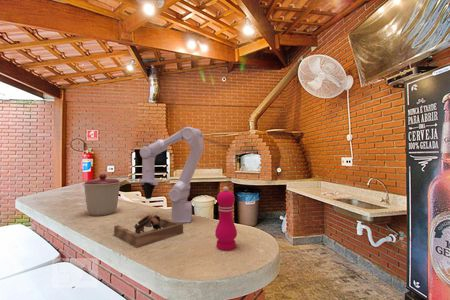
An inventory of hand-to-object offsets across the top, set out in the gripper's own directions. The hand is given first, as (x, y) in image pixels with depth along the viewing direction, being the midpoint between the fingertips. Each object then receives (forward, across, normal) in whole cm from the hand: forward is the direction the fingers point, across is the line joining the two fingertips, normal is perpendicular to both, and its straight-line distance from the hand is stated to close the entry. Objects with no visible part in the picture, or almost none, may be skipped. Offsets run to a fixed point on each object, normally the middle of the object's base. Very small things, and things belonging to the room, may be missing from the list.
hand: (148, 198), depth 113 cm
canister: (+10, -27, -11) cm, 31 cm away
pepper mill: (+10, +52, -1) cm, 53 cm away
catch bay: (+9, +22, -12) cm, 26 cm away
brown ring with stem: (+10, +21, -11) cm, 26 cm away
